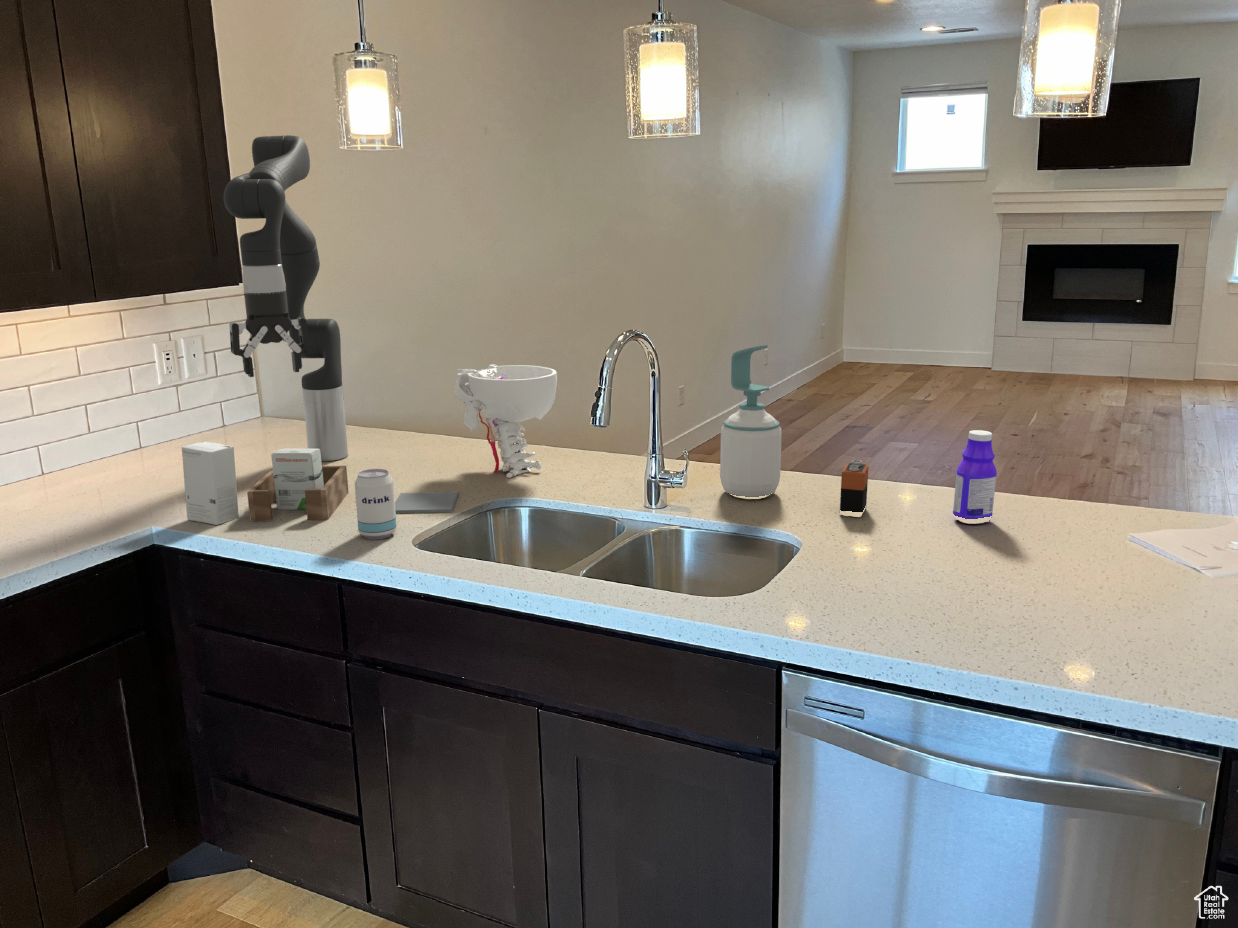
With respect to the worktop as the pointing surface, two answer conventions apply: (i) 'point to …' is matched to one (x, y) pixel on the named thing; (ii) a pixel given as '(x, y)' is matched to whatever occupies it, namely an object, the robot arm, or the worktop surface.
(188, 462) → the skincare box
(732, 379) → the soap bottle
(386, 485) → the beverage can
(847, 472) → the battery
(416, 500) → the mat
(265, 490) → the crate
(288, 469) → the ink box
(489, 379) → the skull
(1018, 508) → the worktop surface
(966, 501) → the bottle
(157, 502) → the worktop surface
